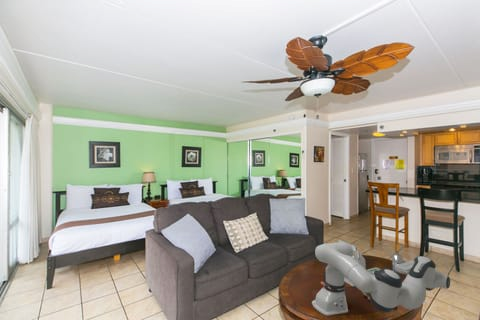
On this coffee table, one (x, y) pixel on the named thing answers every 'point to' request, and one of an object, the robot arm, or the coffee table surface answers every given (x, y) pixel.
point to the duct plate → (373, 270)
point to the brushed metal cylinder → (397, 260)
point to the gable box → (358, 258)
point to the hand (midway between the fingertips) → (396, 262)
